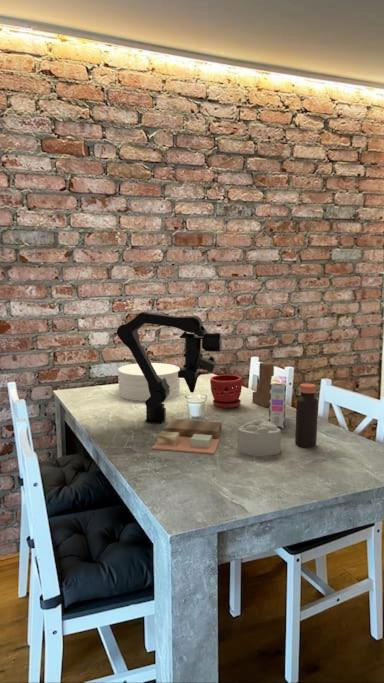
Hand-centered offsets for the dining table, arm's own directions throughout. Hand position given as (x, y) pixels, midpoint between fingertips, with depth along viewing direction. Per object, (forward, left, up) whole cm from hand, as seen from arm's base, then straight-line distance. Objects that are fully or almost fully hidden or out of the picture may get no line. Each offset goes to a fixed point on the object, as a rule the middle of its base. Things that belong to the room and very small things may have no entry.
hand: (192, 392), depth 185 cm
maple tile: (-3, -23, -9) cm, 24 cm away
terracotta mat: (+3, -23, -12) cm, 26 cm away
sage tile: (+8, -23, -9) cm, 26 cm away
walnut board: (+3, -11, -12) cm, 16 cm away
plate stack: (-28, +39, -12) cm, 50 cm away
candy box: (+31, +8, -12) cm, 34 cm away
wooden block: (+24, +32, -12) cm, 42 cm away
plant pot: (+9, +27, -12) cm, 31 cm away
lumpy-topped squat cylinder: (+26, -22, -12) cm, 36 cm away
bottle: (+41, -14, -12) cm, 45 cm away
